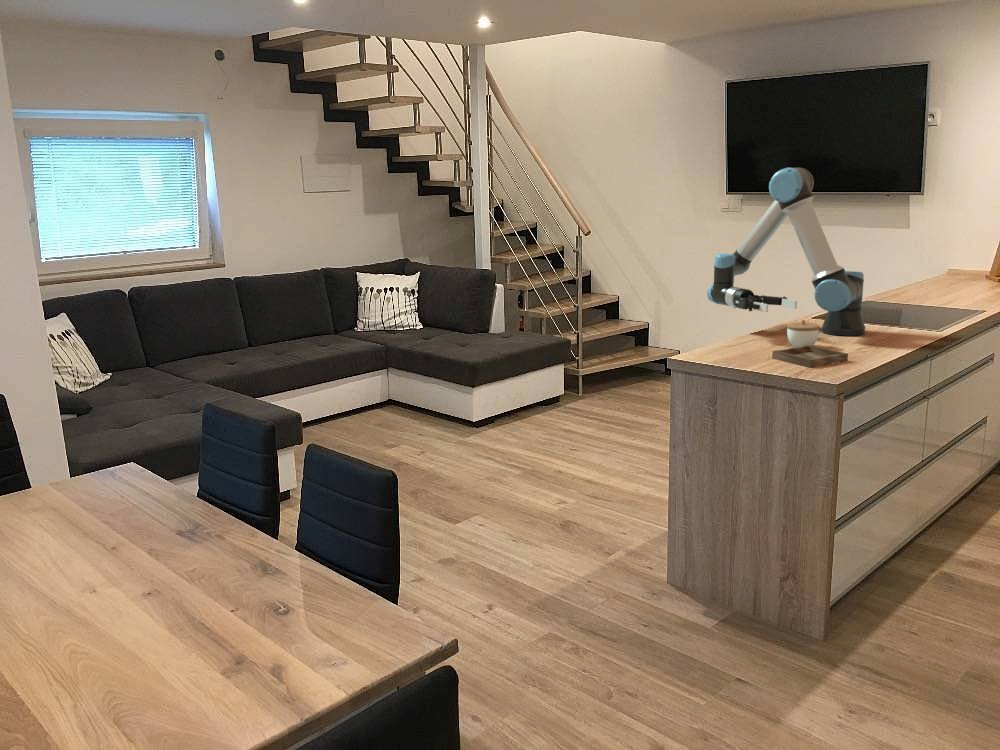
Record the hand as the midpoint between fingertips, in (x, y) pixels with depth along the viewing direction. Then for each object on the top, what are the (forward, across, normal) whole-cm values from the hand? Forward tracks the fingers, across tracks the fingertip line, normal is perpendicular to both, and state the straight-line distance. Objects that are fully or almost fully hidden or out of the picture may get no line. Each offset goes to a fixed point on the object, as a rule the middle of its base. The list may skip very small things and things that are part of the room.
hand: (781, 306), depth 311 cm
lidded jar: (+10, 0, -13) cm, 17 cm away
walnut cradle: (+26, +13, -12) cm, 32 cm away
